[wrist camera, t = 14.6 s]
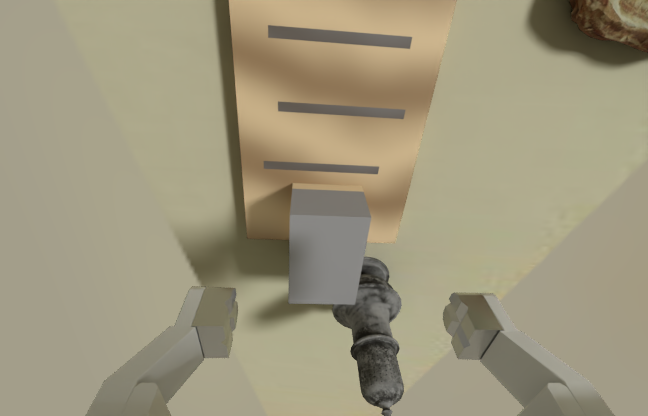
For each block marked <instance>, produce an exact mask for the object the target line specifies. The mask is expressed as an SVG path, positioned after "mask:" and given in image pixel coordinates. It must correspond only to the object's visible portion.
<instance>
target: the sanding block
mask: <svg viewBox="0 0 648 416" xmlns="http://www.w3.org/2000/svg"><path fill="white" fill-rule="evenodd" d="M370 222H371V215H370V211H369V208H368V205H367V201H366V198H365V194H364V191H363V188H362V186H347V185H325V184H302V183H293V186H292V197H291V207H290V235H289V302H288V304H349V305H355V302H356V296H357V291H358V286H359V281H360V275H361V270H362V265H363V259H364V254H365V249H366V243H367V238H368V233H369V227H370Z"/></svg>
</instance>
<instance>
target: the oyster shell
mask: <svg viewBox="0 0 648 416" xmlns="http://www.w3.org/2000/svg"><path fill="white" fill-rule="evenodd" d="M570 3H571V6H572V9H573V11H572V13H571V16H572V21H573V22H575V23H576V24H578V27H579V29H580V30H581V31H582V32H584V33H585V34H587V35H588V36H590V37H592V38H596V39H599V40H611V41H618V42H621V43H624V44H626V45H629V46H631V47H633V48H635V49H638V50H641V51H644V52H648V0H570Z"/></svg>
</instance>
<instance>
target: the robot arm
mask: <svg viewBox="0 0 648 416" xmlns="http://www.w3.org/2000/svg"><path fill="white" fill-rule="evenodd" d="M235 298H236V290H235V288H221V287H195V286H192V287H191V289H190V290H189V291H188V294H187V296H186V299H185V301H184V304H183V306H182V308H181V311H180V313H179V316H178V318H177V320H176V323H175V325H174V326H170V327H168V328H167V329H166V330H165V331H164V332H163V333H161V334H160V335H159V336H158V337H157V338H155V339H154V340H153V341H152V342H151V343H149V344H148V345H147V346H146V347H144V348H143V349H142V350H141V351H140V352H138V353H137V354H136V355H135V356H134V357H132V358H131V359H130V360H129V361H128V362H127V363H125V364H124V365H123V366H122V367H120V368H119V369H118V370H117V371H116V372H114V374H112V375H111V376H110V377H108V378H107V379H106V380H105V381H104V382H103V384H102V386H101V388H100V390H99V391H98V393H97V395H96V397H95V399H94V401H93V403H92V405H91V406H90V408H89V410H88V412H87V414H86V416H171V414H170V412H169V410H168V408H167V405H166V404H167V403H168V401H169V400H170V399H171V398H172V397H173V396H174V394H175V393H176V392H177V391H178V390H179V389H180V387H181V386H182V385H183V384H184V383H185V381H186V380H187V379H188V378H189V377H190V375H191V374H192V373H193V372H194V371H195V370H196V369H197V367H198V366H199V365H200V364H201V363H202V361H203V360H204V358H229V355H230V350H231V346H232V341H233V338H232V331H233V330H234V329H235V328H236V323H237V316H238V304H237V302H236V301H235ZM449 300H450V302H451V303H450V304H449V305H447V306H446V307H445V309H444V312H443V322H444V326H445V328H446V331H447V332H448V333H449V334H450V335H451V336H452V337H453V338H452V341H451V343H452V346H453V348H454V351H455V353H456V355H457V358H458V359H472V360H480V362H482V364H483V365H484V366H485V367H486V368H487V369H488V370H489V371H490V372H491V373H492V374H493V375H494V376H495V377H496V378H497V379H498V380H499V381H500V383H501V384H502V385H503V386H504V387H505V388H506V389H507V390H508V391H509V392H510V393H511V394H512V395H513V396H514V397H515V398H516V399H517V400H518V401H519V403H520V404H521V405H522V406H523V407H524V409H523V410H522V411H521V412H520V413H519V414H518V415H517V416H615V415H614V414H613V413H612V411H611V410H610V409H609V407H608V406H607V404H606V403H605V402H604V400H603V399H602V398H601V396H600V395H599V393H598V392H597V391H596V390H595V388H594V386H593V385H592V384H591V382H590V381H588V380H587V379H586V378H584V377H583V376H581V375H580V374H579V373H577V372H576V371H575V370H574V369H572V368H571V367H570V366H568V365H567V364H565V363H564V362H563V361H561V360H560V359H559V358H557V357H556V356H555V355H553V354H552V353H551V352H549V351H548V350H547V349H545V348H544V347H543V346H541V345H540V344H538V343H537V342H536V341H534V340H533V339H532V338H530V337H529V336H528V335H526V334H525V333H524V332H522V331H518V330H517V329H516V327H515V325H514V324H513V322H512V321H511V319H510V317H509V316H508V314H507V313H506V311H505V309H504V308H503V307H502V305H501V303H500V301H499V300H498V298H497V297H496V295H494V294H493V293H453V294H451V296H450V298H449Z"/></svg>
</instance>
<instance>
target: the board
mask: <svg viewBox="0 0 648 416" xmlns="http://www.w3.org/2000/svg"><path fill="white" fill-rule="evenodd" d="M456 2H457V0H229V10H230V23H231V36H232V49H233V62H234V75H235V88H236V100H237V113H238V126H239V139H240V152H241V165H242V178H243V190H244V203H245V216H246V229H247V239H276V240H289V235H290V207H291V197H292V186H293V183H302V184H325V185H347V186H362V188H363V191H364V194H365V198H366V201H367V205H368V208H369V211H370V215H371V222H370V227H369V233H368V238H367V242H370V243H395V242H396V238H397V234H398V230H399V226H400V222H401V218H402V214H403V210H404V206H405V203H406V199H407V195H408V191H409V187H410V183H411V179H412V175H413V171H414V167H415V163H416V159H417V155H418V151H419V147H420V143H421V140H422V136H423V132H424V128H425V124H426V120H427V116H428V112H429V108H430V104H431V100H432V96H433V92H434V88H435V84H436V81H437V77H438V73H439V69H440V65H441V61H442V57H443V53H444V49H445V45H446V41H447V37H448V33H449V29H450V25H451V21H452V18H453V14H454V10H455V6H456Z"/></svg>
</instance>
